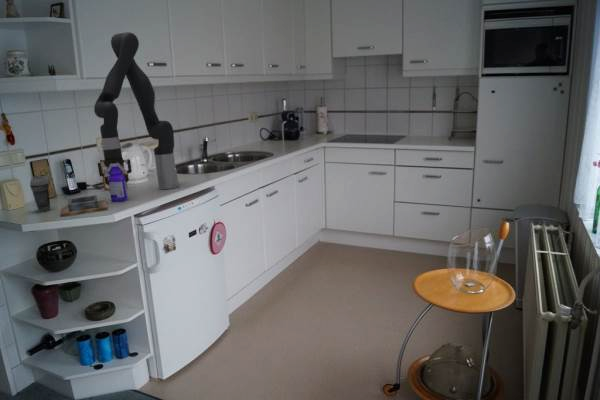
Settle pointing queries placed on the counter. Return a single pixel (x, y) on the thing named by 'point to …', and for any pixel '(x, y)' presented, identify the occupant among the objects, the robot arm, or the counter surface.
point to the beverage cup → (41, 192)
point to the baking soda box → (108, 175)
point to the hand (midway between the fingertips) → (117, 183)
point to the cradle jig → (83, 206)
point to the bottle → (117, 184)
